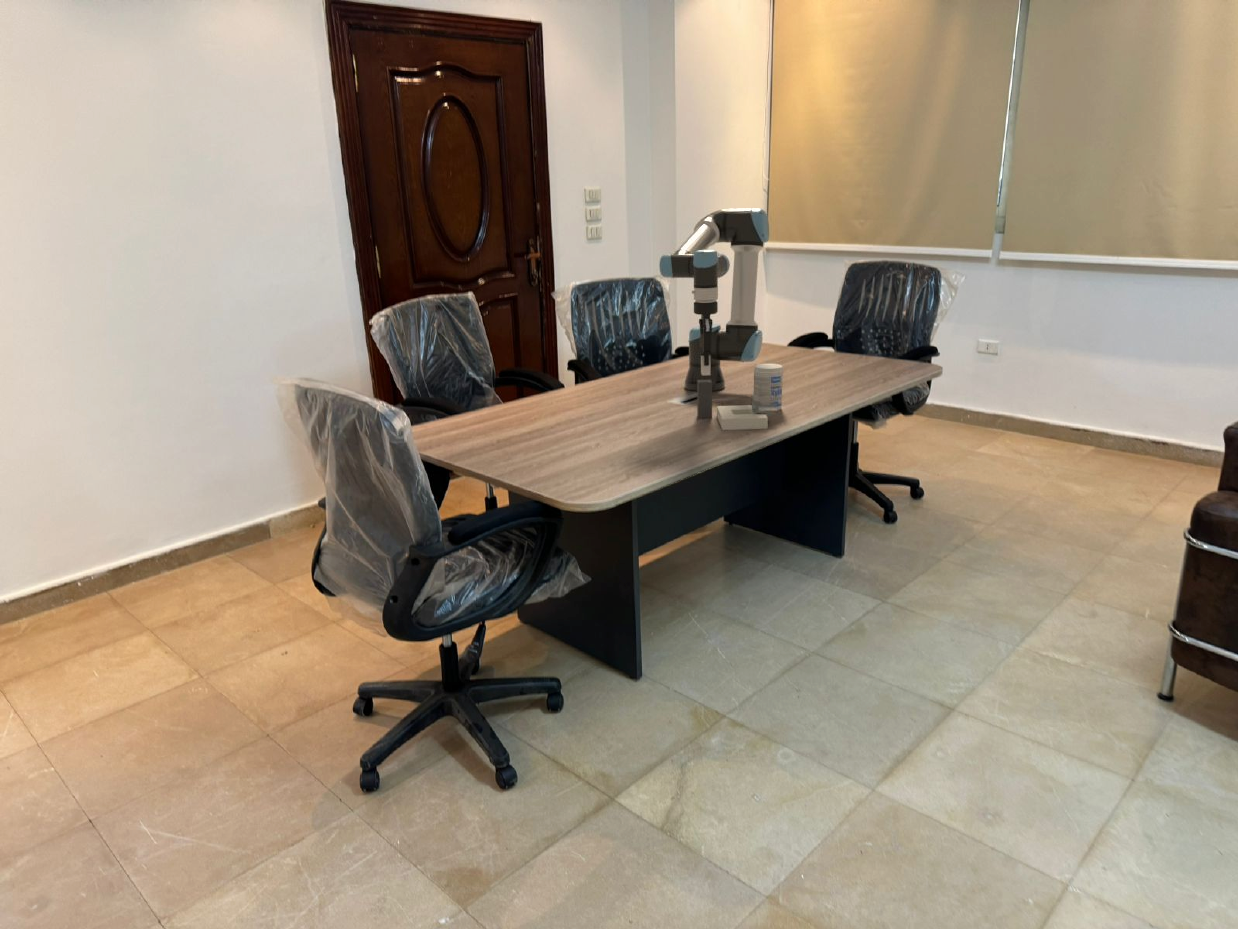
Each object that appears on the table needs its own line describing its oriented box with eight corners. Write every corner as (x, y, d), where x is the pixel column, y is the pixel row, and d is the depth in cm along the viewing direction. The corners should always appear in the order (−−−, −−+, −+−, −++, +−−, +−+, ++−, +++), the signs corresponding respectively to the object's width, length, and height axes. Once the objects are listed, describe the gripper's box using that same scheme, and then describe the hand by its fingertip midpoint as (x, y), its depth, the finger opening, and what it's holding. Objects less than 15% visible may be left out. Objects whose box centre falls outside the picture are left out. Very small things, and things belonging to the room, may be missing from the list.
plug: (697, 415, 270) (697, 379, 266) (710, 414, 270) (710, 379, 266) (698, 418, 266) (698, 383, 262) (712, 418, 266) (712, 382, 262)
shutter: (751, 407, 262) (751, 396, 261) (773, 407, 262) (773, 395, 261) (754, 413, 256) (755, 401, 255) (777, 412, 256) (777, 400, 255)
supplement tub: (776, 413, 269) (777, 369, 265) (748, 410, 274) (749, 367, 269) (785, 406, 277) (786, 364, 272) (759, 403, 282) (759, 362, 277)
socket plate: (716, 416, 268) (716, 406, 267) (759, 415, 268) (759, 404, 267) (722, 430, 253) (722, 419, 252) (767, 428, 253) (767, 417, 252)
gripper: (691, 298, 263) (692, 369, 271) (695, 304, 249) (696, 379, 257) (714, 297, 263) (714, 368, 271) (720, 303, 249) (720, 378, 256)
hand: (705, 374), depth 264 cm, fingers open, 2 cm apart
